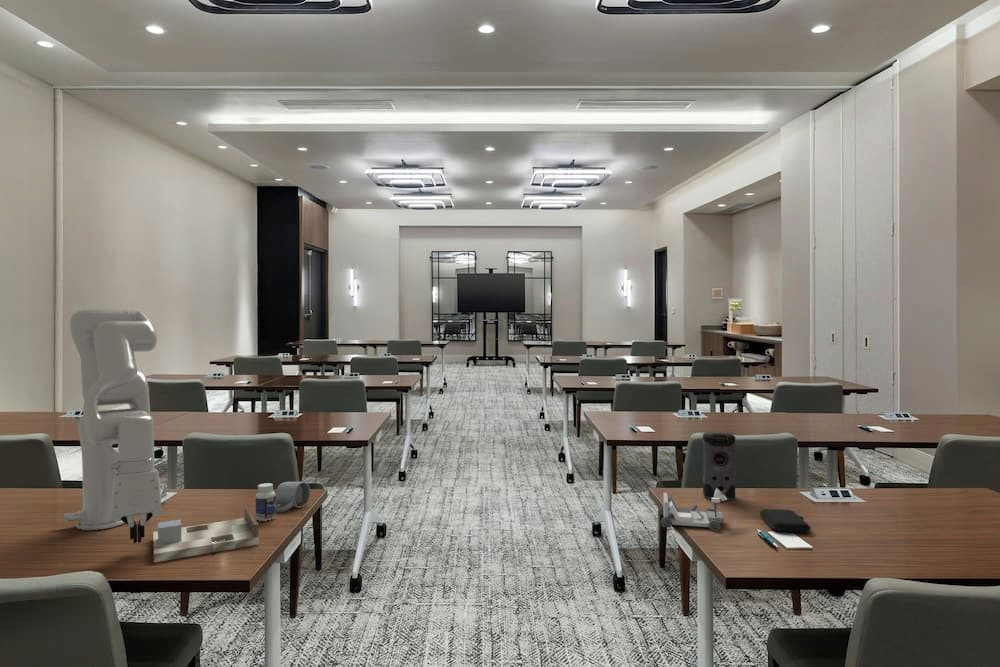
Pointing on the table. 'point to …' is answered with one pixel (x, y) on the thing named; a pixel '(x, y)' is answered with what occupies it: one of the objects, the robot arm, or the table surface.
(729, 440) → the electronic device
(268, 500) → the pill bottle
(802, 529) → the carrying case or bag
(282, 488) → the ceramic mug
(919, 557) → the table surface
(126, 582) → the table surface
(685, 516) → the toy car
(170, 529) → the block
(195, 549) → the board
